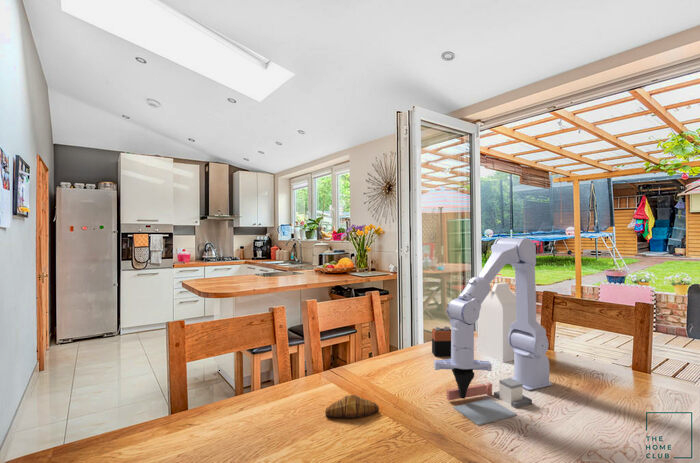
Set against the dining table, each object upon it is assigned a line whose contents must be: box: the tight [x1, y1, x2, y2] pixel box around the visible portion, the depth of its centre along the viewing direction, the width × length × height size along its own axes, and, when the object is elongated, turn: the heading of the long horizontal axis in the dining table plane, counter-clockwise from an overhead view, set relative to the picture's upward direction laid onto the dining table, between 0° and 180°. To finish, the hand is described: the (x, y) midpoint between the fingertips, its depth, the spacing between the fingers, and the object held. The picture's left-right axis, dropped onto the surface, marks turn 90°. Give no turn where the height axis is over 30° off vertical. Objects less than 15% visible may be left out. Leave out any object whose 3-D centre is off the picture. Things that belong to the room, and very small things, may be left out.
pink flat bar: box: [446, 382, 493, 401], centre depth 99 cm, size 1×14×3 cm, turn 108°
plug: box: [498, 377, 524, 406], centre depth 97 cm, size 4×4×5 cm
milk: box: [476, 282, 516, 363], centre depth 133 cm, size 12×12×26 cm
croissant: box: [324, 394, 380, 419], centre depth 90 cm, size 14×7×5 cm, turn 100°
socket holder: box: [493, 390, 533, 409], centre depth 98 cm, size 6×7×1 cm
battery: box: [431, 326, 451, 357], centre depth 132 cm, size 4×7×10 cm, turn 93°
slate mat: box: [453, 397, 518, 426], centre depth 91 cm, size 12×9×1 cm
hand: (462, 396), depth 96 cm, fingers closed
